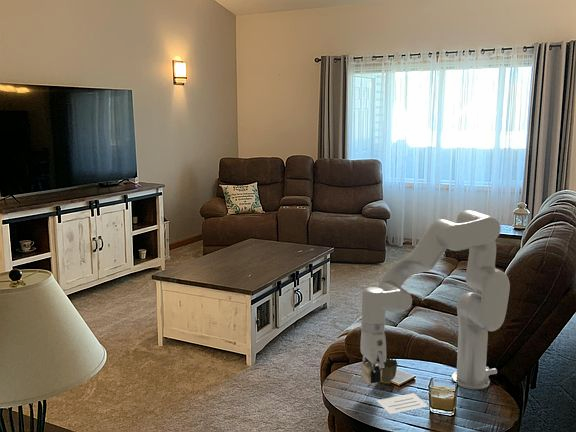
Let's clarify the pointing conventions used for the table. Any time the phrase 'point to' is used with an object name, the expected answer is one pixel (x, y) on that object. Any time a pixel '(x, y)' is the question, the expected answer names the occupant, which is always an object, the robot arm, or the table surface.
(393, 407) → the letter
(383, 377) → the dark olive tapered piece
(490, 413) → the table surface
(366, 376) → the beech block
